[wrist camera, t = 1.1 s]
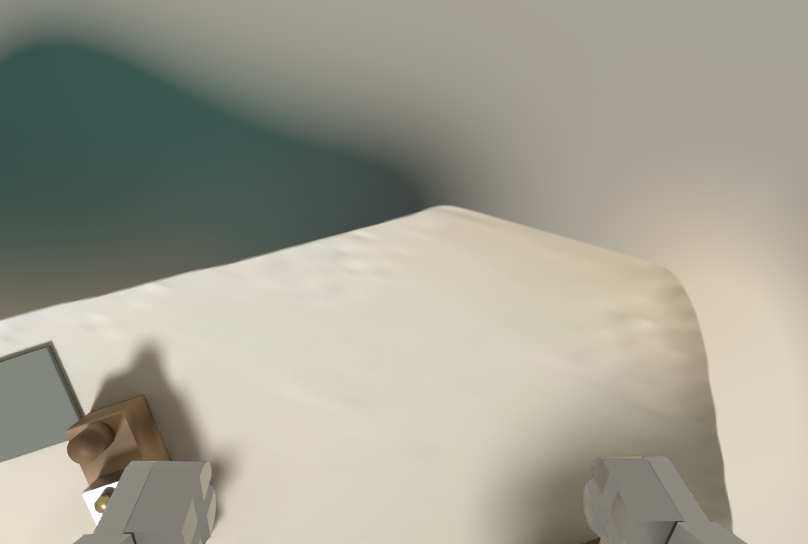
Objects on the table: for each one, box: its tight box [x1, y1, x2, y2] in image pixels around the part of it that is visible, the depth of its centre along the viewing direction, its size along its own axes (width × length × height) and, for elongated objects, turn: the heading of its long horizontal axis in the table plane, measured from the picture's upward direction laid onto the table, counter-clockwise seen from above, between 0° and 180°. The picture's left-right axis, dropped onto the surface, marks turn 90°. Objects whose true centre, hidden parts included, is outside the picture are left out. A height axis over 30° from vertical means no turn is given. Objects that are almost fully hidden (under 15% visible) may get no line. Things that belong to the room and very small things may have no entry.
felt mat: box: [0, 346, 82, 462], centre depth 56 cm, size 10×10×1 cm
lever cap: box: [82, 469, 124, 525], centre depth 51 cm, size 7×4×4 cm, turn 18°
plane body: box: [65, 395, 206, 544], centre depth 52 cm, size 18×6×12 cm, turn 18°
